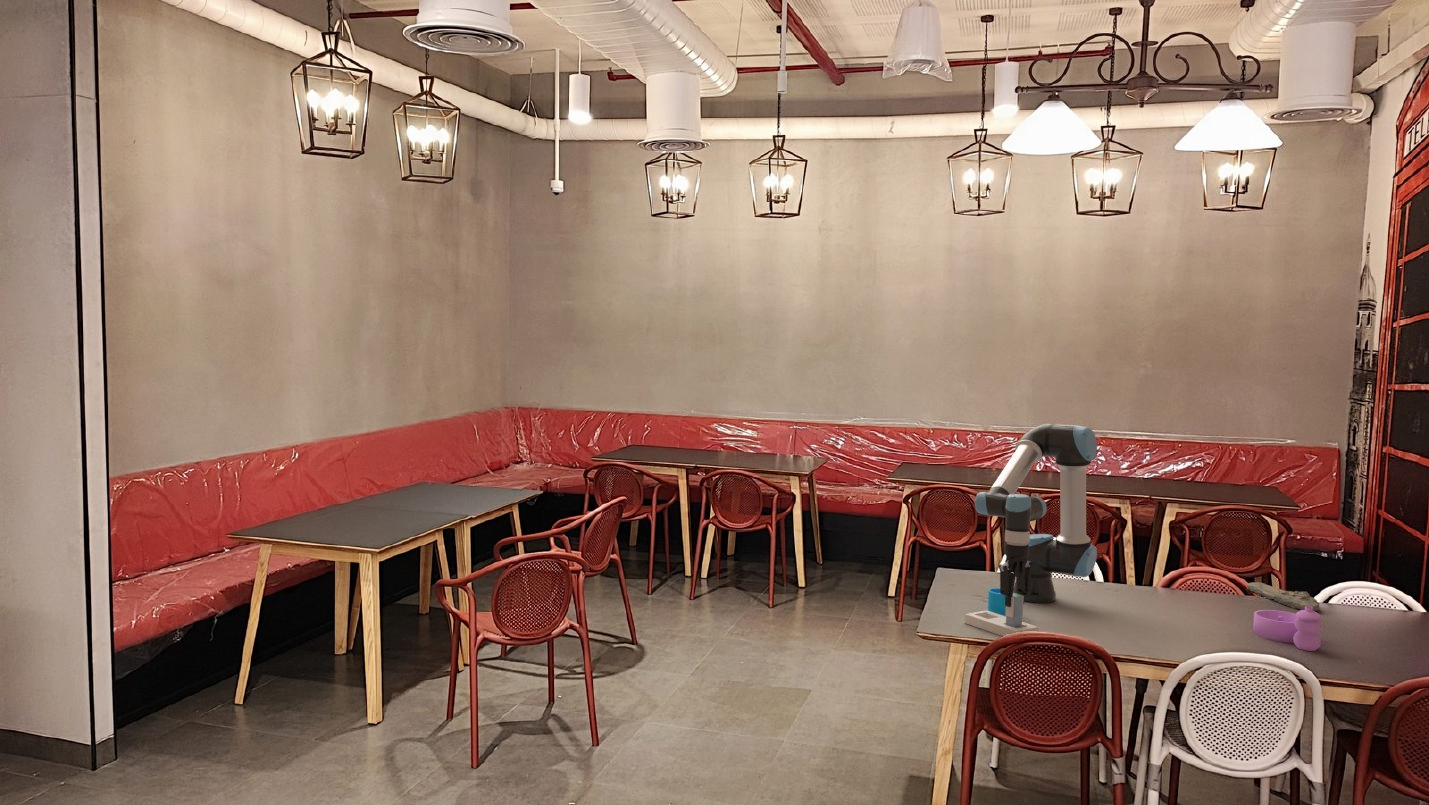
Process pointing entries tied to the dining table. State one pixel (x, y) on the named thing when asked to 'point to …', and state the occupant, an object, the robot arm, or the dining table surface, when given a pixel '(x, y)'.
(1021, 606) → the plug
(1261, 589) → the long grey stone
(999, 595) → the mug
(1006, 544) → the robot arm
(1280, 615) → the container set
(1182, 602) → the dining table surface
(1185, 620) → the dining table surface
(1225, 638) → the dining table surface
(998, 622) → the port panel
